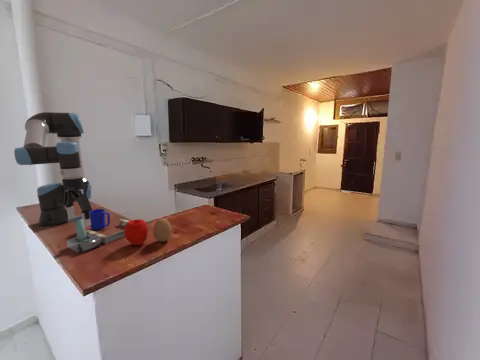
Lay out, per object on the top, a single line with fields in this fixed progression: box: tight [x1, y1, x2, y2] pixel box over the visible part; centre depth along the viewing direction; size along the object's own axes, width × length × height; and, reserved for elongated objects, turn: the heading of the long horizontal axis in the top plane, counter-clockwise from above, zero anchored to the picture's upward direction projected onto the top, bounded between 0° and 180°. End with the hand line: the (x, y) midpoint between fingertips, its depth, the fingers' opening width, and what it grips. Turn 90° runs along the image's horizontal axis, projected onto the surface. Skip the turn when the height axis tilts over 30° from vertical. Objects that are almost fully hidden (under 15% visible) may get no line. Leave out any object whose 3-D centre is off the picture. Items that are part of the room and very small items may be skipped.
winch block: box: [66, 233, 102, 253], centre depth 106 cm, size 13×9×4 cm
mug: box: [89, 208, 111, 231], centre depth 127 cm, size 8×12×10 cm
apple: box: [124, 218, 149, 246], centre depth 106 cm, size 10×10×12 cm
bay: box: [85, 218, 130, 245], centre depth 121 cm, size 18×20×3 cm
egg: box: [152, 217, 173, 243], centre depth 109 cm, size 8×8×11 cm
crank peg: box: [67, 214, 87, 242], centre depth 106 cm, size 3×8×13 cm, turn 149°
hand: (79, 223), depth 106 cm, fingers open, 13 cm apart
